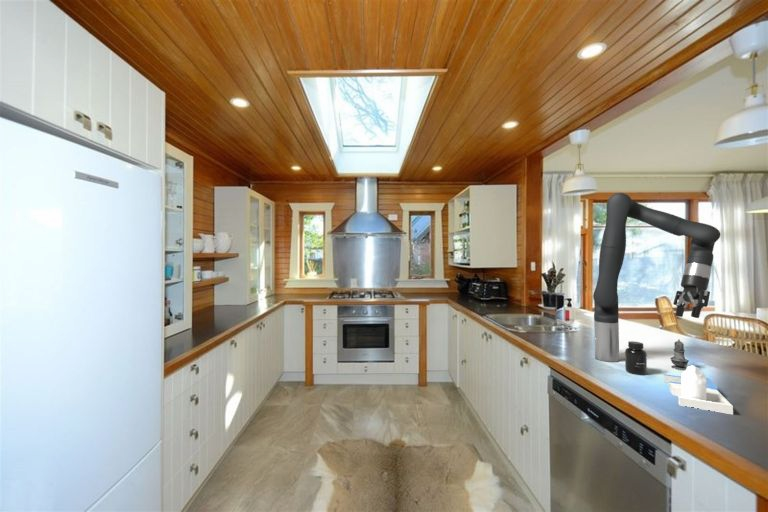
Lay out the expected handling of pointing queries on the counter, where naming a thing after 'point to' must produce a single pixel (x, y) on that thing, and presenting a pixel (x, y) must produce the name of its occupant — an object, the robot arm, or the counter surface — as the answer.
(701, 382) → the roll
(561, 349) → the counter surface
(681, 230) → the robot arm
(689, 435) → the counter surface
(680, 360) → the dark grey turned piece
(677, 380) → the white rail frame
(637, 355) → the supplement bottle
